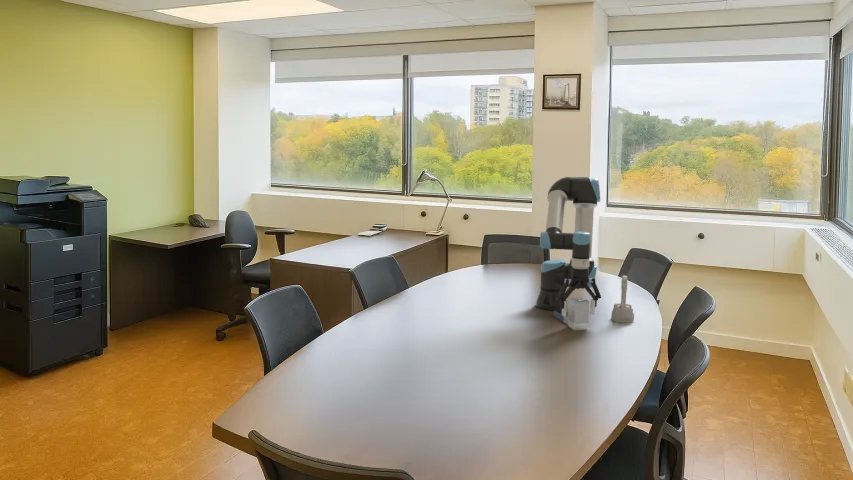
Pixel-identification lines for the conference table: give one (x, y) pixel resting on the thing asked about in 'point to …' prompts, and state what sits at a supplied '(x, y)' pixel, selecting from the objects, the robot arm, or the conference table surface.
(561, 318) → the blue-grey beige mallet
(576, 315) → the grey textured cube
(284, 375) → the conference table surface
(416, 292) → the conference table surface
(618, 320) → the engine component
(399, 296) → the conference table surface
